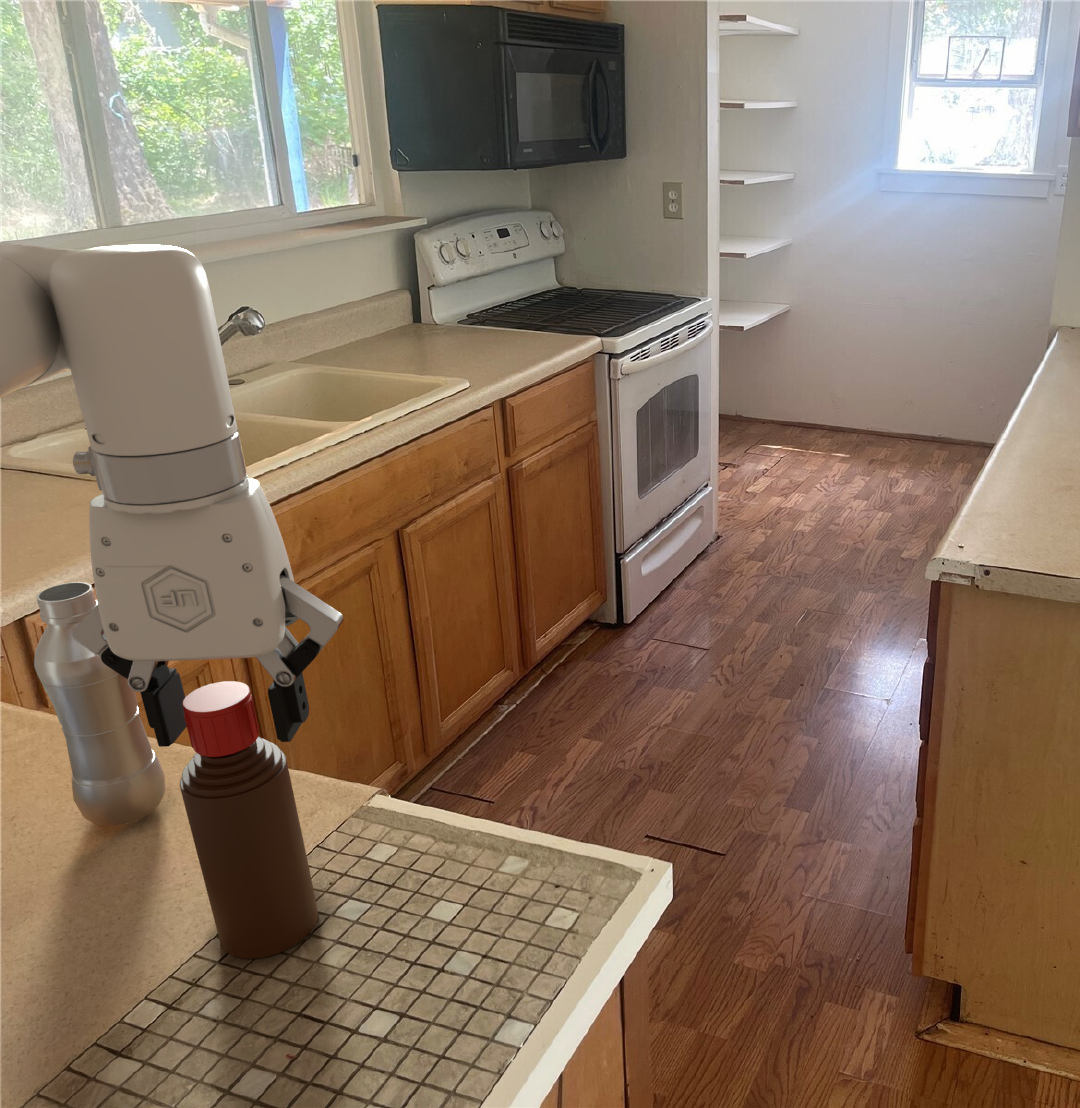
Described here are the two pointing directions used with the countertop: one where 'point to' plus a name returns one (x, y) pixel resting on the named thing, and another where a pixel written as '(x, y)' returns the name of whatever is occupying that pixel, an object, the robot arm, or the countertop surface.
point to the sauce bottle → (250, 849)
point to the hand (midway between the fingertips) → (233, 730)
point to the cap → (221, 718)
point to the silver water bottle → (95, 716)
